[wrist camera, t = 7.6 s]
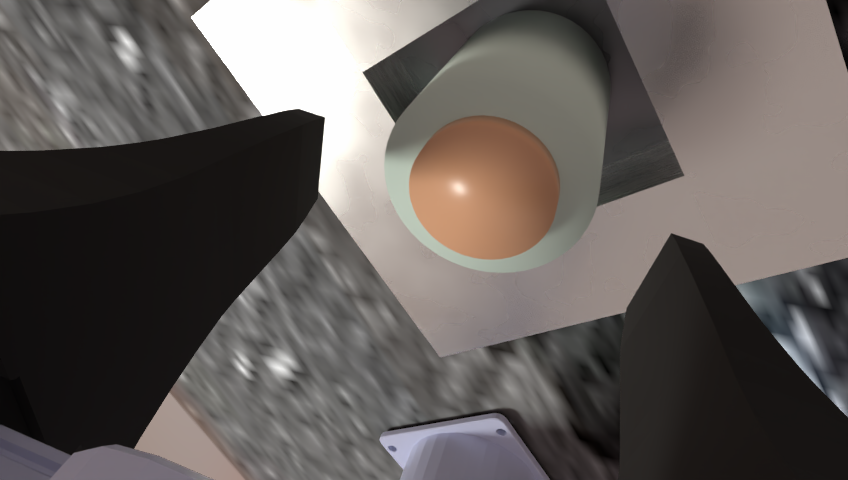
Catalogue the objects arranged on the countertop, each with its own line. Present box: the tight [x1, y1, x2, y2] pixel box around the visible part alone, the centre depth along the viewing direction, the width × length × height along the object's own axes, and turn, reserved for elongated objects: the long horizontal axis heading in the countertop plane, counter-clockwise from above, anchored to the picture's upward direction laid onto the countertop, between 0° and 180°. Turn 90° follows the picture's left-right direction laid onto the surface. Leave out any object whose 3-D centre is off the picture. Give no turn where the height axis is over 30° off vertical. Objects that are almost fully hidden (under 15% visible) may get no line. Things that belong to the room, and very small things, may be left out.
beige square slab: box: [191, 0, 848, 357], centre depth 17 cm, size 14×14×4 cm
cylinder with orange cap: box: [384, 10, 611, 273], centre depth 15 cm, size 5×5×7 cm
